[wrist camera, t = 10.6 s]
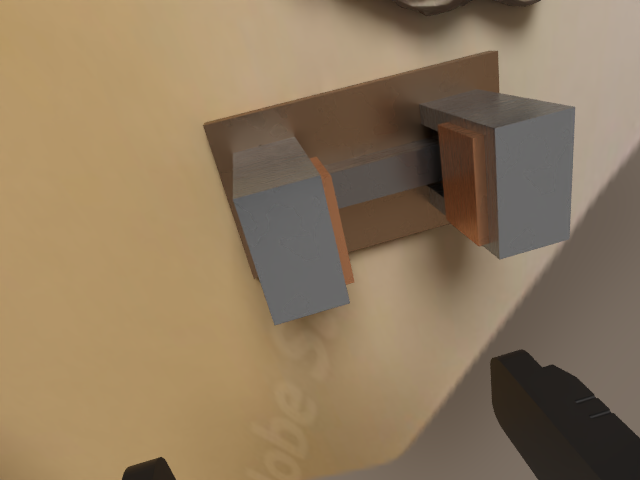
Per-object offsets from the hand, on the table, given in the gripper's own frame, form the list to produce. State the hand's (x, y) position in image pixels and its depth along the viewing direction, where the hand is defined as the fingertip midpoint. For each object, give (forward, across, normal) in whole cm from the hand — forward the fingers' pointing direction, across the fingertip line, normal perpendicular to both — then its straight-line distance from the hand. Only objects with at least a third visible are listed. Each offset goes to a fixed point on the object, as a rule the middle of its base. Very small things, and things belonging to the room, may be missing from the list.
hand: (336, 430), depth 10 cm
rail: (+21, -7, +1) cm, 22 cm away
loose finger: (+20, 0, +1) cm, 20 cm away
